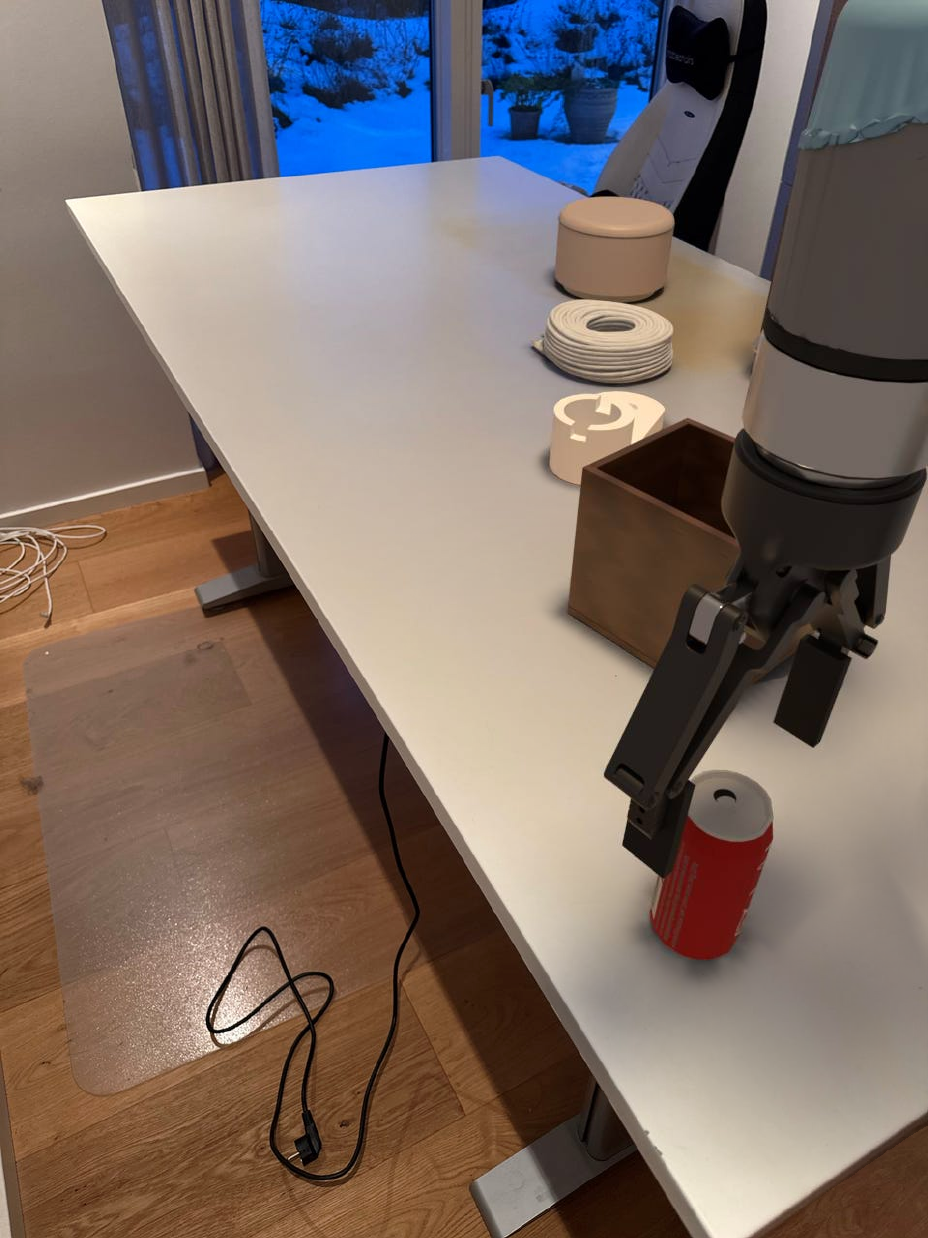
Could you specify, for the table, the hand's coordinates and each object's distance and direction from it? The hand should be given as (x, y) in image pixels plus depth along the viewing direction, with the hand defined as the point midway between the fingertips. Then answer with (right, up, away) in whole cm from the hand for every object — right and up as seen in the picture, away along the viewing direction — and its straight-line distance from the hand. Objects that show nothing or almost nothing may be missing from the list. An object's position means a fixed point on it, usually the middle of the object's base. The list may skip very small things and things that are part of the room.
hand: (726, 791), depth 51 cm
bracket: (+2, +30, +57) cm, 64 cm away
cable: (+5, +45, +76) cm, 89 cm away
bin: (+5, +9, +31) cm, 33 cm away
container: (+9, +63, +99) cm, 118 cm away
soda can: (0, -10, +8) cm, 13 cm away
